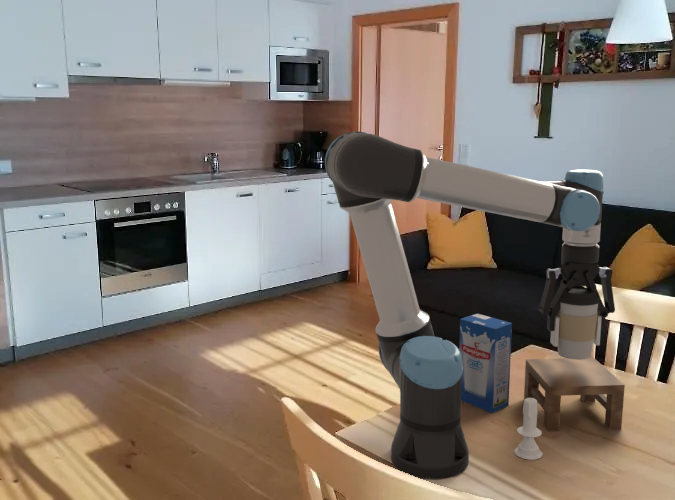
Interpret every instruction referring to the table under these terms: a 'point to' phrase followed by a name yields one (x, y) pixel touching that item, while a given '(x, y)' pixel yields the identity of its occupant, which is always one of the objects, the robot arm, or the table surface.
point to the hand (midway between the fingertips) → (574, 343)
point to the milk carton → (485, 361)
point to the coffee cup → (577, 323)
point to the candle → (529, 432)
